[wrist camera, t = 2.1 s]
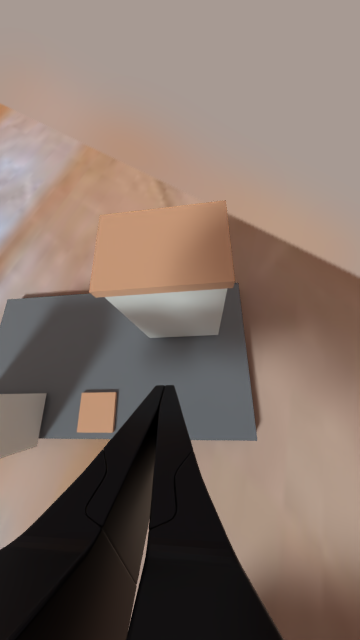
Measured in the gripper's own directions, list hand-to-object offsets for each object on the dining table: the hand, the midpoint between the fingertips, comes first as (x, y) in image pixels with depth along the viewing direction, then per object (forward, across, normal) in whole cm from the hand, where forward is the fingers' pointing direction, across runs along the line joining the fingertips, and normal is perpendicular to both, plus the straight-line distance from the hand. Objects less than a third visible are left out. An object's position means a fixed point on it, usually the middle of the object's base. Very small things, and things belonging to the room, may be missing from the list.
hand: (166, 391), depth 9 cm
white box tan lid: (+10, 0, +1) cm, 10 cm away
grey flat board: (+9, +7, +4) cm, 12 cm away
